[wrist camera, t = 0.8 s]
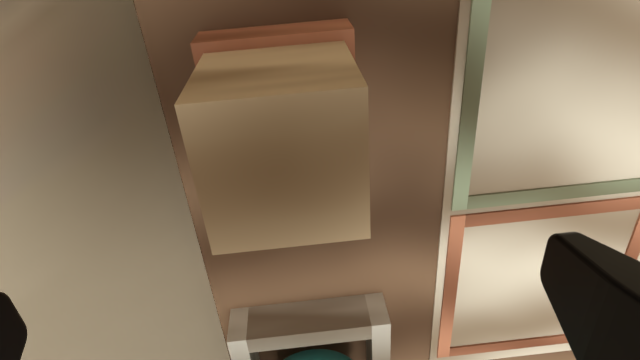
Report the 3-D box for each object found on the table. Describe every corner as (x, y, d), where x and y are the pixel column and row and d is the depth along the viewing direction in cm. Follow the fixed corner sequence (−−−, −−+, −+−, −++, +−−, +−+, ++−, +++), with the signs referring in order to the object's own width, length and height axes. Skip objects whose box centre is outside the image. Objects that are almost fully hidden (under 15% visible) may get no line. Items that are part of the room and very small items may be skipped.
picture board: (600, 350, 25) (634, 396, 23) (245, 391, 24) (241, 443, 22) (767, -83, 14) (866, -82, 12) (136, -28, 14) (105, -16, 11)
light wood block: (352, 149, 16) (382, 246, 11) (225, 162, 16) (203, 265, 11) (347, 18, 14) (382, 71, 9) (198, 31, 14) (155, 92, 9)
